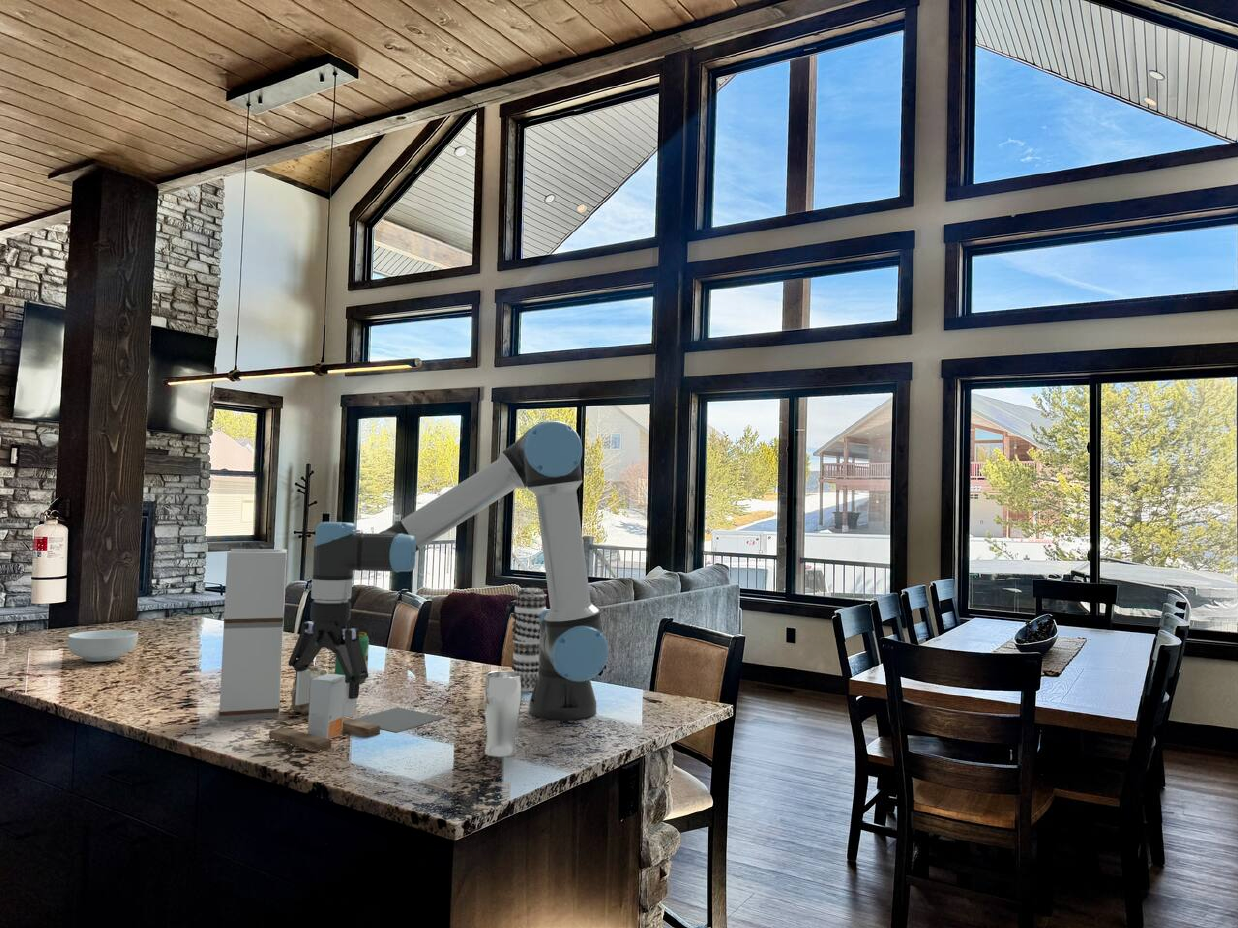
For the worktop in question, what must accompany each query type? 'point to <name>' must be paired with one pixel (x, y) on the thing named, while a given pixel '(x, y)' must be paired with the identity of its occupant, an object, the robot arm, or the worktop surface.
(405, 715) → the charcoal mat
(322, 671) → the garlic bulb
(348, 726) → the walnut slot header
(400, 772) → the worktop surface
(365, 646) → the beverage can
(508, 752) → the beer glass
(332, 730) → the skincare box
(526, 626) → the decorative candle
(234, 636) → the white tall block
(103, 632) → the cereal bowl
